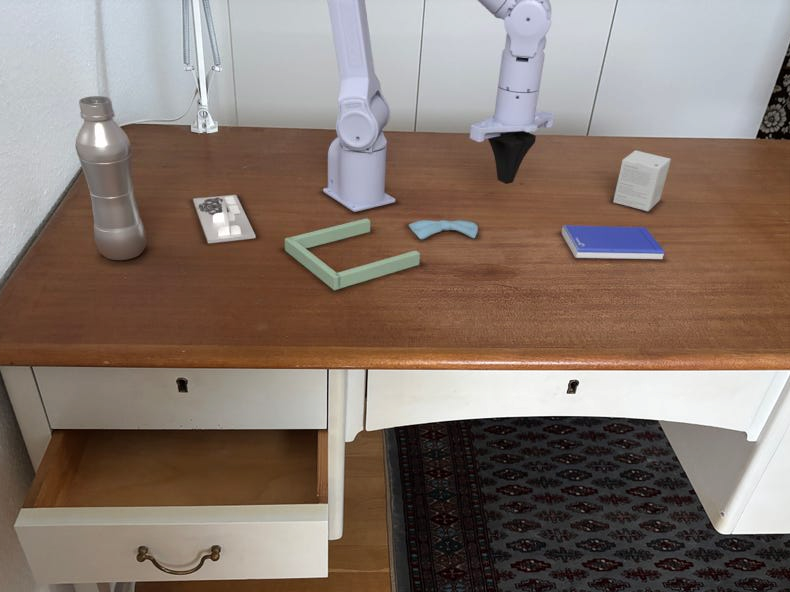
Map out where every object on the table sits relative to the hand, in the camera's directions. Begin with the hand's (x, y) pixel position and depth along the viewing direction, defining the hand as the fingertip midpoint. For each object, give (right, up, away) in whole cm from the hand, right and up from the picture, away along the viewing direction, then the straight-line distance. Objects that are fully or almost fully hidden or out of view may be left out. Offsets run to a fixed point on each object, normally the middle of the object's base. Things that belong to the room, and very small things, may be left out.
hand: (505, 181), depth 108 cm
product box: (+23, -1, +11) cm, 26 cm away
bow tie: (-9, -8, -2) cm, 12 cm away
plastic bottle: (-53, -13, -12) cm, 56 cm away
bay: (-22, -13, -10) cm, 28 cm away
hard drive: (+15, -11, -4) cm, 18 cm away
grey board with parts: (-42, -6, -2) cm, 42 cm away
